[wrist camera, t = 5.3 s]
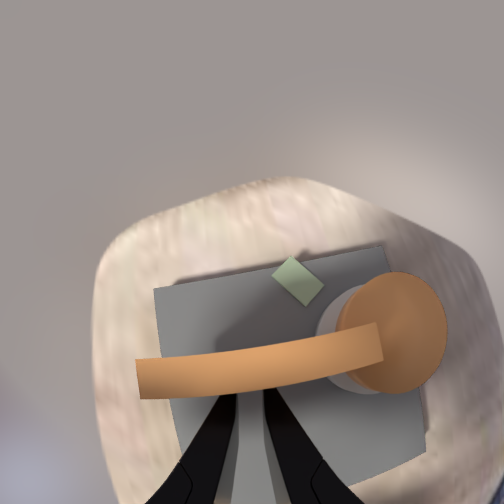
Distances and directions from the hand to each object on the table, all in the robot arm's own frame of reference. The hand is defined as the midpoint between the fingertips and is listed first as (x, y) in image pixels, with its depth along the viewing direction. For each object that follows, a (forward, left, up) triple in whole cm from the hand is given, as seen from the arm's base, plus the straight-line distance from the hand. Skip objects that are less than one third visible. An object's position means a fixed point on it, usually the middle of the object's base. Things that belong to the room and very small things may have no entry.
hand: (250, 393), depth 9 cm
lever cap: (+3, +1, -3) cm, 5 cm away
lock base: (+2, -1, -7) cm, 7 cm away
